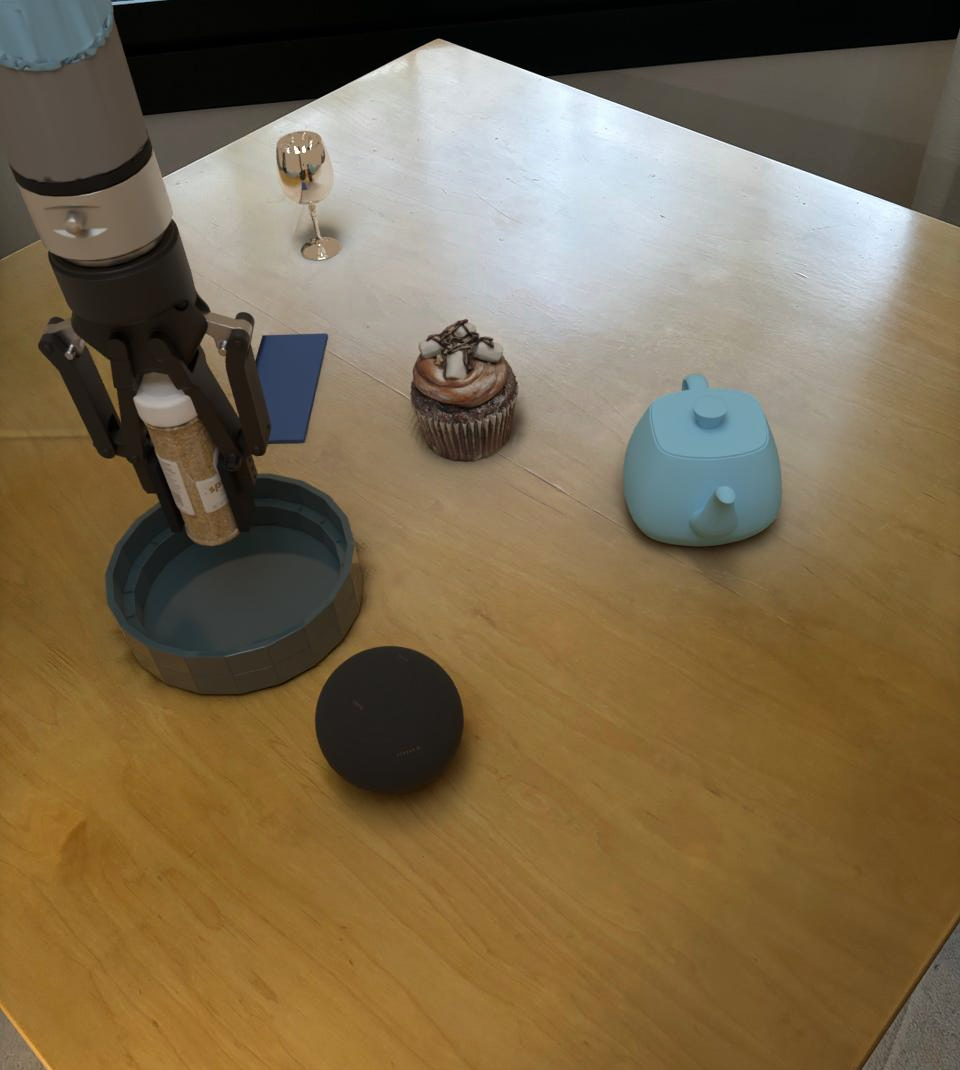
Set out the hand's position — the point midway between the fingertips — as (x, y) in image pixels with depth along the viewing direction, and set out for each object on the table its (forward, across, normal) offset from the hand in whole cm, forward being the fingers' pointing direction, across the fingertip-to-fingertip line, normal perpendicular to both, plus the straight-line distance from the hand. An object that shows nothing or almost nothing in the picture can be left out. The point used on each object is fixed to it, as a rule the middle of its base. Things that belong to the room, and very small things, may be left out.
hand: (213, 518), depth 80 cm
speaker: (+9, +14, -15) cm, 23 cm away
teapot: (+9, +37, +9) cm, 39 cm away
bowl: (+9, 0, 0) cm, 9 cm away
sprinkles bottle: (+1, 0, 0) cm, 1 cm away
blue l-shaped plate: (+9, -8, +27) cm, 29 cm away
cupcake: (+9, +17, +20) cm, 28 cm away
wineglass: (+10, -1, +51) cm, 52 cm away
